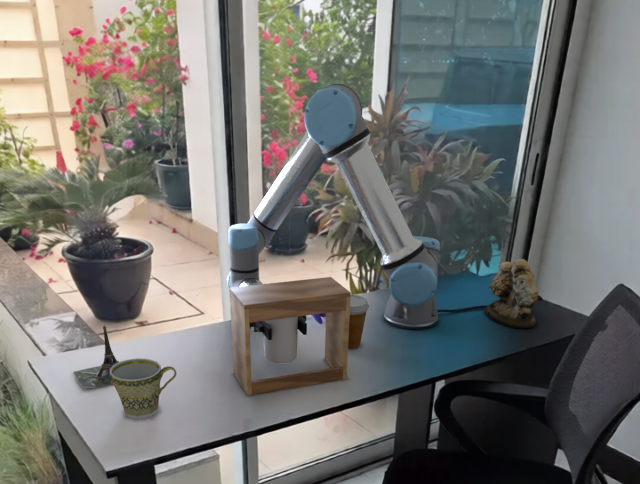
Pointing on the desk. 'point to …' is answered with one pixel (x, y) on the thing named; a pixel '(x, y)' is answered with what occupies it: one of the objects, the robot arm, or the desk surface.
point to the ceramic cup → (139, 386)
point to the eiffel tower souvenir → (98, 369)
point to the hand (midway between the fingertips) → (287, 331)
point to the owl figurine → (513, 295)
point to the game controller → (319, 317)
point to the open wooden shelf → (285, 304)
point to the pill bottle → (282, 340)
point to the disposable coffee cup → (356, 320)
